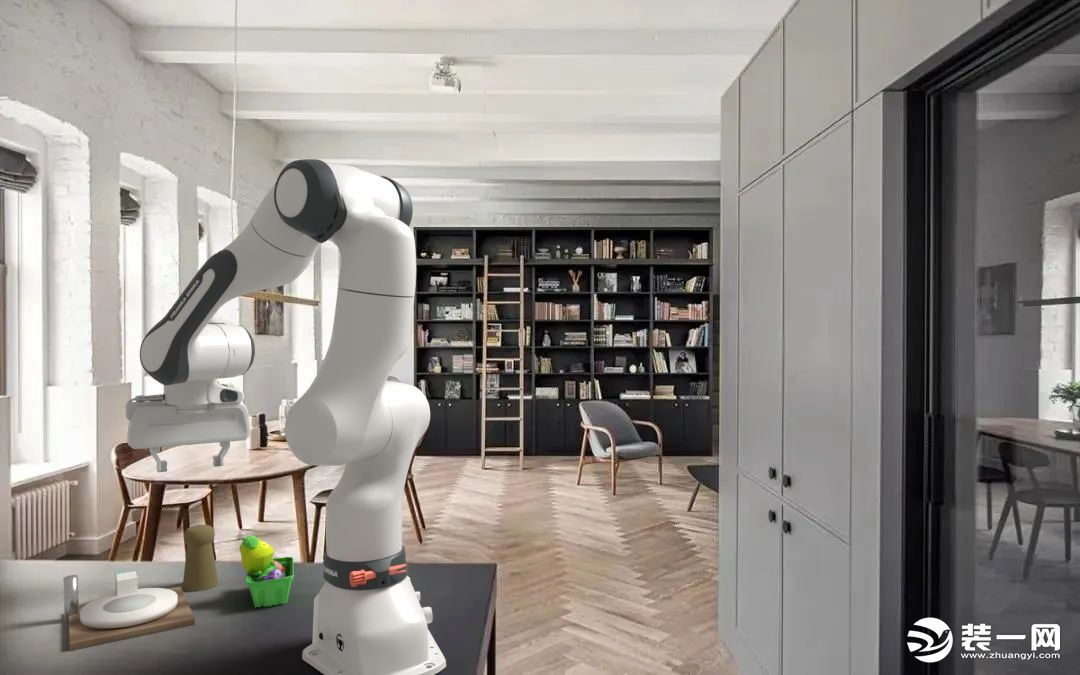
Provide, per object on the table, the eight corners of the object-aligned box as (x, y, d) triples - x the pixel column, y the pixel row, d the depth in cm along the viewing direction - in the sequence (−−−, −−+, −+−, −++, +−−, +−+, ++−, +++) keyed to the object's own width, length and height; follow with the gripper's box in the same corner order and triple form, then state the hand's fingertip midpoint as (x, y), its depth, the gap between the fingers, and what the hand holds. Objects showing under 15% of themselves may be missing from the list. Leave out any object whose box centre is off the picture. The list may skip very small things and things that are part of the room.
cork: (204, 592, 134) (203, 531, 134) (174, 590, 135) (173, 530, 135) (225, 580, 140) (224, 522, 139) (196, 578, 141) (195, 521, 141)
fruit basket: (294, 605, 127) (293, 540, 127) (238, 613, 125) (237, 546, 124) (293, 583, 138) (292, 522, 138) (242, 589, 135) (240, 527, 135)
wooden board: (194, 624, 120) (194, 616, 120) (69, 650, 111) (69, 642, 111) (180, 591, 134) (180, 585, 134) (68, 612, 125) (68, 605, 125)
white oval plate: (183, 615, 120) (182, 592, 120) (81, 636, 113) (80, 611, 113) (169, 582, 136) (169, 562, 135) (78, 598, 128) (78, 577, 128)
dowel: (79, 620, 122) (77, 577, 122) (64, 622, 121) (63, 580, 121) (78, 616, 124) (77, 574, 124) (64, 618, 123) (63, 576, 123)
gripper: (127, 398, 127) (127, 478, 128) (252, 392, 139) (252, 466, 139) (123, 394, 132) (123, 471, 133) (244, 388, 144) (244, 460, 145)
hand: (190, 468), depth 136 cm, fingers open, 8 cm apart
